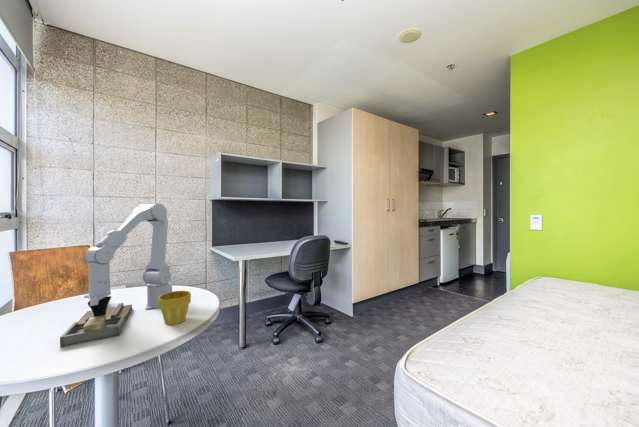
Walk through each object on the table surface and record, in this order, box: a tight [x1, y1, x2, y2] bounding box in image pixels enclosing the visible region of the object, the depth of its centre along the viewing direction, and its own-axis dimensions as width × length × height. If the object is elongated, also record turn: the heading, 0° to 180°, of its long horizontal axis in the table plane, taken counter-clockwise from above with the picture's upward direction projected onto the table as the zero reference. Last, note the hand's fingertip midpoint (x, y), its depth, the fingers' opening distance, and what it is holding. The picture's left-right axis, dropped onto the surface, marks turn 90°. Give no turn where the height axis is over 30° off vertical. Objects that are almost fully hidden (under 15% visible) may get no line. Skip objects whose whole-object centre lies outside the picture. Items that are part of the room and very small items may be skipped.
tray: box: [59, 314, 127, 348], centre depth 85 cm, size 14×12×3 cm
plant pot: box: [158, 290, 192, 326], centre depth 93 cm, size 10×10×10 cm
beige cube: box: [83, 319, 103, 332], centre depth 82 cm, size 4×4×4 cm
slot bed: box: [77, 302, 133, 327], centre depth 96 cm, size 14×14×3 cm
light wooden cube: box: [87, 315, 106, 329], centre depth 86 cm, size 4×4×4 cm
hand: (100, 319), depth 89 cm, fingers closed
